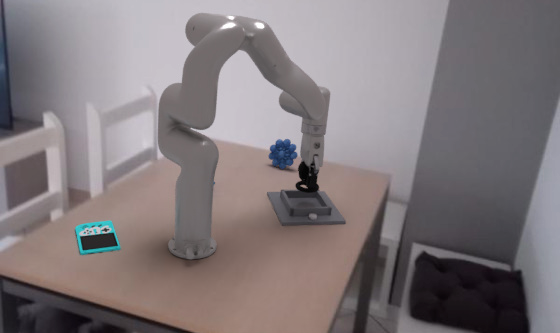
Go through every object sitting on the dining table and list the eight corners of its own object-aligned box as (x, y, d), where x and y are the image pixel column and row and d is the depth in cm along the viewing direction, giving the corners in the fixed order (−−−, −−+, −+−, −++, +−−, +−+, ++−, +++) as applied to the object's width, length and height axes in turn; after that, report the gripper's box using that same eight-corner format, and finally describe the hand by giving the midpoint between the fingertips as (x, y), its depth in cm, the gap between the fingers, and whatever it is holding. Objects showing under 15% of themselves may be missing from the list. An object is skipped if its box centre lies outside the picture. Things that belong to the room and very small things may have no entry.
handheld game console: (112, 223, 152) (112, 219, 152) (121, 251, 139) (121, 247, 139) (74, 228, 148) (74, 223, 148) (80, 257, 135) (80, 252, 134)
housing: (345, 223, 164) (346, 213, 163) (281, 225, 159) (282, 214, 158) (324, 193, 184) (325, 184, 183) (266, 194, 179) (267, 184, 178)
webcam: (308, 181, 174) (311, 152, 171) (324, 190, 169) (327, 160, 165) (289, 186, 169) (292, 156, 166) (305, 195, 164) (309, 164, 161)
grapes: (300, 168, 204) (303, 138, 200) (292, 174, 198) (296, 143, 194) (272, 161, 209) (275, 132, 204) (264, 166, 203) (267, 136, 199)
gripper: (334, 137, 155) (327, 193, 162) (317, 119, 171) (311, 171, 177) (309, 137, 153) (303, 193, 160) (294, 119, 169) (289, 171, 175)
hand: (307, 181), depth 168 cm, fingers closed on webcam, 6 cm apart
